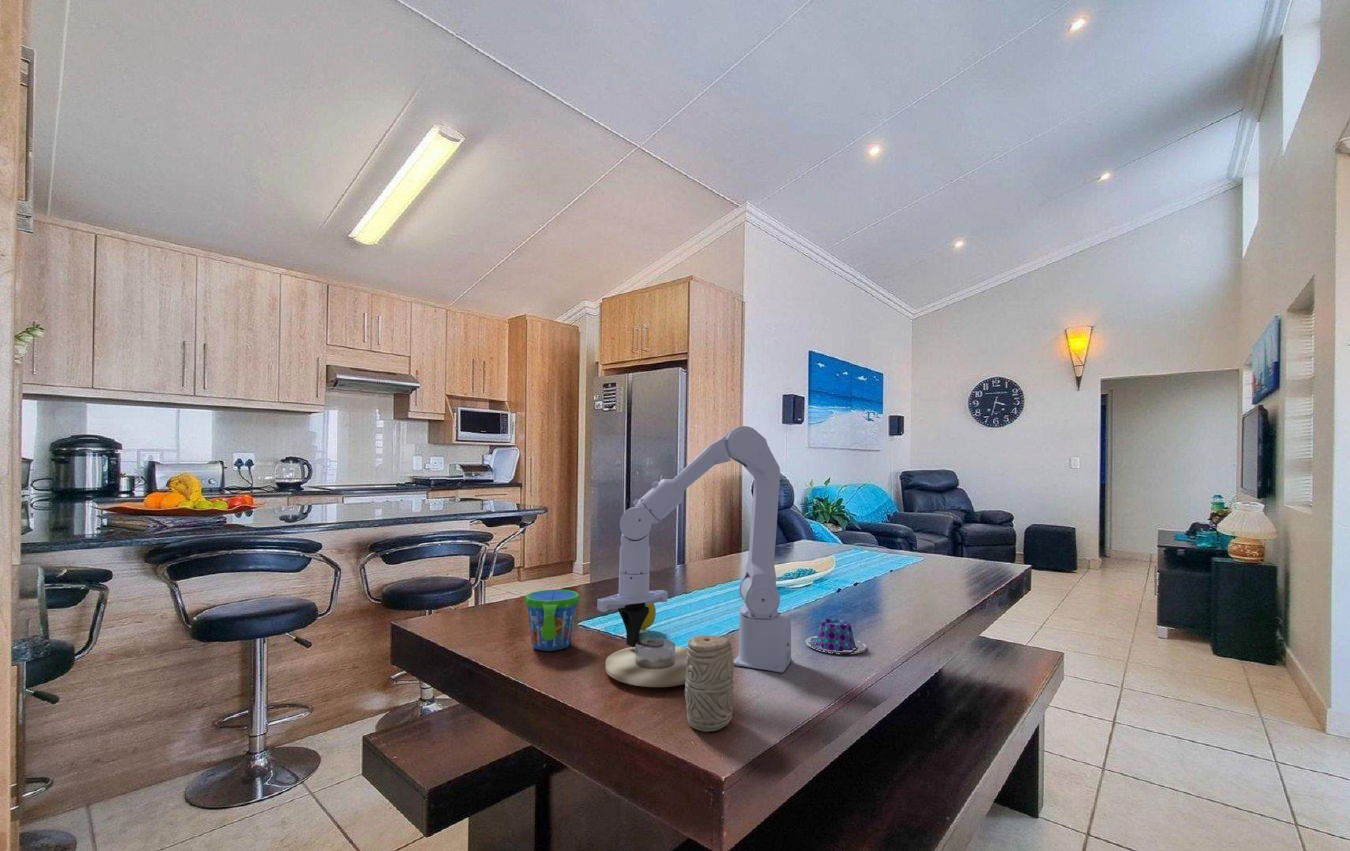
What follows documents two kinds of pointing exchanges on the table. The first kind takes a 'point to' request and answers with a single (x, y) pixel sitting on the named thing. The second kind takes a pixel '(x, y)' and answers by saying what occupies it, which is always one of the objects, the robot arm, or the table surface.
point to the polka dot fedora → (835, 636)
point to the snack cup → (551, 618)
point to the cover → (655, 653)
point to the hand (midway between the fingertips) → (632, 645)
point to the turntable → (628, 672)
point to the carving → (709, 682)
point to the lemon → (649, 616)
